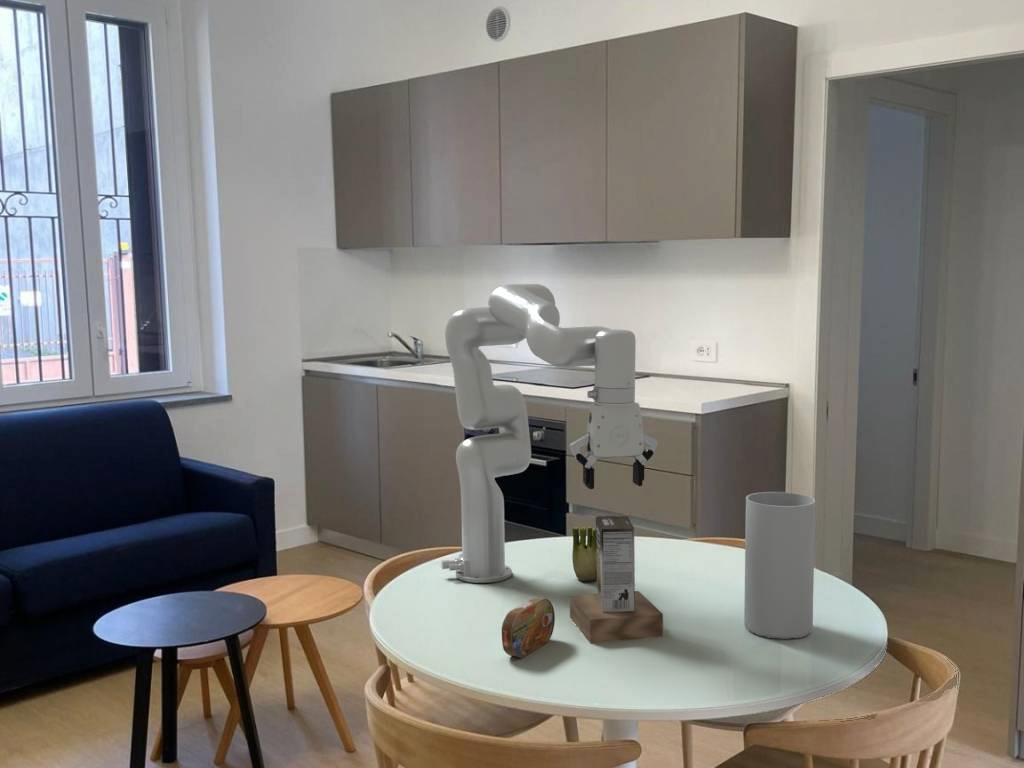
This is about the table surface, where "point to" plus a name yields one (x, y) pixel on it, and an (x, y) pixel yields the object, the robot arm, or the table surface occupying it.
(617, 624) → the walnut block
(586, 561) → the fennel bulb
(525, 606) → the tin
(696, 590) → the table surface
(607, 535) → the coffee box
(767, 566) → the cylinder vase
